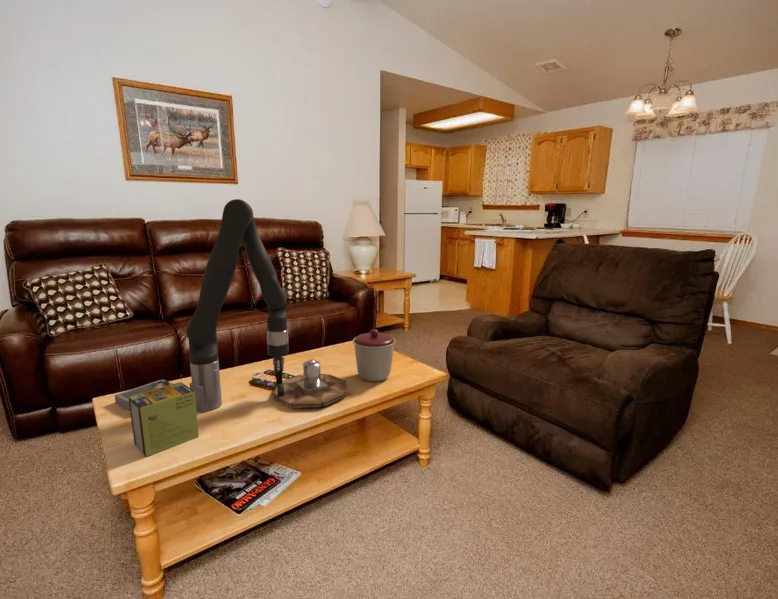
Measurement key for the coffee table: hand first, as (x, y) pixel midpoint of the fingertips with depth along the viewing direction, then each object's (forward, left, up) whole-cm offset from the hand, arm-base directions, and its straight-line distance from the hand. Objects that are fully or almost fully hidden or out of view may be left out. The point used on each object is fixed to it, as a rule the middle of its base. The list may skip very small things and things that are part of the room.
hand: (279, 385), depth 156 cm
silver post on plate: (+9, -8, -2) cm, 12 cm away
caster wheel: (-29, +34, -5) cm, 46 cm away
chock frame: (-28, +38, -5) cm, 47 cm away
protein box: (-40, +7, -5) cm, 41 cm away
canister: (+36, -18, -5) cm, 41 cm away
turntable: (+9, -7, -4) cm, 12 cm away
